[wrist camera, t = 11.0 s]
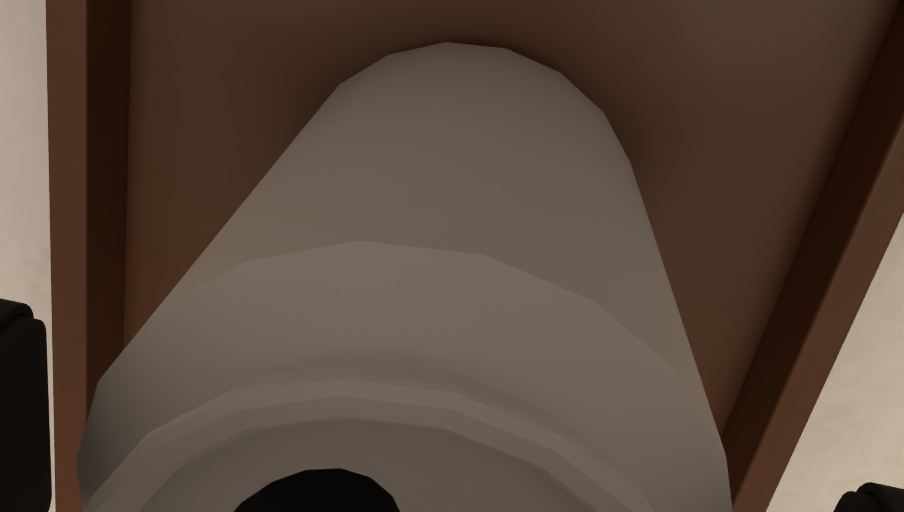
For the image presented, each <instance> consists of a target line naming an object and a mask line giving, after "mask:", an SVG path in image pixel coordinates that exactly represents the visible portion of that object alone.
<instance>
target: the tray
mask: <svg viewBox="0 0 904 512" xmlns="http://www.w3.org/2000/svg"><path fill="white" fill-rule="evenodd" d="M46 39H47V90H48V142H49V193H50V244H51V295H52V347H53V398H54V449H55V500H56V512H83V509H82V501H81V494H80V486H79V479H78V471H77V464H76V459H77V455H78V451H79V448H80V444H81V441H82V437H83V434H84V430H85V427H86V423H87V420H88V416H89V412H90V409H91V405H92V402H93V398H94V395H95V391H96V388H97V384H98V381H99V380H100V379H101V377H102V376H103V375H104V374H105V372H106V371H107V370H108V369H109V367H110V366H111V365H112V364H113V363H114V361H115V360H116V359H117V358H118V356H119V355H120V354H121V353H122V351H123V350H124V349H125V348H126V347H127V345H128V344H129V343H130V342H131V340H132V339H133V338H134V337H135V335H136V334H137V333H138V332H139V330H140V329H141V328H142V327H143V326H144V324H145V323H146V322H147V321H148V319H149V318H150V317H151V316H152V314H153V313H154V312H155V311H156V310H157V308H158V307H159V306H160V305H161V303H162V302H163V301H164V300H165V298H166V297H167V296H168V295H169V293H170V292H171V291H172V290H173V289H174V287H175V286H176V285H177V284H178V282H179V281H180V280H181V279H182V277H183V276H184V275H185V274H186V272H187V271H188V270H189V269H190V268H191V266H192V265H193V264H194V263H195V261H196V260H197V259H198V258H199V256H200V255H201V254H202V253H203V252H204V250H205V249H206V248H207V247H208V245H209V244H210V243H211V242H212V240H213V239H214V238H215V237H216V235H217V234H218V233H219V232H220V231H221V229H222V228H223V227H224V226H225V224H226V223H227V222H228V221H229V219H230V218H231V217H232V216H233V215H234V213H235V212H236V211H237V210H238V208H239V207H240V206H241V205H242V203H243V202H244V201H245V200H246V198H247V197H248V196H249V195H250V194H251V192H252V191H253V190H254V189H255V187H256V186H257V185H258V184H259V182H260V181H261V180H262V179H263V177H264V176H265V175H266V174H267V173H268V171H269V170H270V169H271V168H272V166H273V165H274V164H275V163H276V161H277V160H278V159H279V158H280V157H281V155H282V154H283V153H284V152H285V150H286V149H287V148H288V147H289V145H290V144H291V143H292V142H293V140H294V139H295V138H296V137H297V136H298V134H299V133H300V132H301V131H302V129H303V128H304V127H305V126H306V124H307V123H308V122H309V121H310V120H311V118H312V117H313V116H314V115H315V114H316V112H317V111H318V110H319V109H320V107H321V106H322V105H323V104H324V103H325V101H326V100H327V99H328V98H329V96H330V95H331V94H332V93H333V92H334V90H335V89H336V88H337V87H338V86H339V84H341V83H342V82H344V81H346V80H347V79H349V78H351V77H352V76H354V75H356V74H357V73H359V72H361V71H362V70H364V69H366V68H367V67H369V66H371V65H372V64H374V63H376V62H377V61H379V60H380V59H382V58H384V57H385V56H387V55H390V54H394V53H399V52H403V51H408V50H413V49H417V48H422V47H426V46H431V45H435V44H440V43H444V42H449V43H459V44H468V45H478V46H488V47H497V48H506V49H508V50H511V51H513V52H515V53H517V54H520V55H522V56H524V57H526V58H529V59H531V60H533V61H535V62H538V63H540V64H542V65H544V66H546V67H549V68H551V69H553V70H555V71H558V72H560V73H561V74H562V75H564V76H565V77H566V78H567V79H568V80H569V81H570V82H571V83H572V84H573V85H574V86H575V87H577V88H578V89H579V90H580V91H581V92H582V93H583V94H584V95H585V96H586V97H587V98H589V99H590V100H591V101H592V102H593V103H594V104H595V105H596V106H597V107H598V108H599V109H601V110H602V111H603V112H604V114H605V116H606V118H607V120H608V122H609V123H610V125H611V127H612V129H613V131H614V133H615V135H616V136H617V138H618V140H619V142H620V144H621V146H622V148H623V149H624V151H625V153H626V155H627V157H628V159H629V161H630V163H631V166H632V169H633V172H634V176H635V179H636V182H637V185H638V188H639V191H640V194H641V197H642V200H643V203H644V206H645V209H646V212H647V215H648V219H649V222H650V225H651V228H652V231H653V234H654V237H655V240H656V243H657V246H658V249H659V252H660V255H661V258H662V261H663V265H664V268H665V271H666V274H667V277H668V280H669V283H670V286H671V289H672V292H673V295H674V298H675V301H676V304H677V308H678V311H679V314H680V317H681V320H682V323H683V326H684V329H685V332H686V335H687V338H688V341H689V344H690V347H691V351H692V354H693V357H694V360H695V363H696V366H697V369H698V372H699V375H700V378H701V381H702V384H703V387H704V390H705V393H706V397H707V400H708V403H709V406H710V409H711V412H712V415H713V418H714V421H715V424H716V427H717V430H718V433H719V436H720V440H721V443H722V446H723V449H724V452H725V455H726V460H727V469H728V477H729V485H730V493H731V501H732V509H733V512H766V510H767V508H768V506H769V503H770V501H771V499H772V497H773V495H774V493H775V490H776V488H777V486H778V484H779V482H780V480H781V477H782V475H783V473H784V471H785V469H786V467H787V464H788V462H789V460H790V458H791V456H792V454H793V451H794V449H795V447H796V445H797V443H798V440H799V438H800V436H801V434H802V432H803V430H804V427H805V425H806V423H807V421H808V419H809V417H810V414H811V412H812V410H813V408H814V406H815V404H816V401H817V399H818V397H819V395H820V393H821V391H822V388H823V386H824V384H825V382H826V380H827V378H828V375H829V373H830V371H831V369H832V367H833V365H834V362H835V360H836V358H837V356H838V354H839V351H840V349H841V347H842V345H843V343H844V341H845V338H846V336H847V334H848V332H849V330H850V328H851V325H852V323H853V321H854V319H855V317H856V315H857V312H858V310H859V308H860V306H861V304H862V302H863V299H864V297H865V295H866V293H867V291H868V289H869V286H870V284H871V282H872V280H873V278H874V276H875V273H876V271H877V269H878V267H879V265H880V262H881V260H882V258H883V256H884V254H885V252H886V249H887V247H888V245H889V243H890V241H891V239H892V236H893V234H894V232H895V230H896V228H897V226H898V223H899V221H900V219H901V217H902V215H903V213H904V0H46Z"/></svg>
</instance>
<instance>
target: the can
mask: <svg viewBox="0 0 904 512" xmlns="http://www.w3.org/2000/svg"><path fill="white" fill-rule="evenodd" d="M76 464H77V471H78V479H79V486H80V494H81V501H82V509H83V512H733V509H732V501H731V493H730V485H729V477H728V469H727V460H726V455H725V452H724V449H723V446H722V443H721V440H720V436H719V433H718V430H717V427H716V424H715V421H714V418H713V415H712V412H711V409H710V406H709V403H708V400H707V397H706V393H705V390H704V387H703V384H702V381H701V378H700V375H699V372H698V369H697V366H696V363H695V360H694V357H693V354H692V351H691V347H690V344H689V341H688V338H687V335H686V332H685V329H684V326H683V323H682V320H681V317H680V314H679V311H678V308H677V304H676V301H675V298H674V295H673V292H672V289H671V286H670V283H669V280H668V277H667V274H666V271H665V268H664V265H663V261H662V258H661V255H660V252H659V249H658V246H657V243H656V240H655V237H654V234H653V231H652V228H651V225H650V222H649V219H648V215H647V212H646V209H645V206H644V203H643V200H642V197H641V194H640V191H639V188H638V185H637V182H636V179H635V176H634V172H633V169H632V166H631V163H630V161H629V159H628V157H627V155H626V153H625V151H624V149H623V148H622V146H621V144H620V142H619V140H618V138H617V136H616V135H615V133H614V131H613V129H612V127H611V125H610V123H609V122H608V120H607V118H606V116H605V114H604V112H603V111H602V110H601V109H599V108H598V107H597V106H596V105H595V104H594V103H593V102H592V101H591V100H590V99H589V98H587V97H586V96H585V95H584V94H583V93H582V92H581V91H580V90H579V89H578V88H577V87H575V86H574V85H573V84H572V83H571V82H570V81H569V80H568V79H567V78H566V77H565V76H564V75H562V74H561V73H560V72H558V71H555V70H553V69H551V68H549V67H546V66H544V65H542V64H540V63H538V62H535V61H533V60H531V59H529V58H526V57H524V56H522V55H520V54H517V53H515V52H513V51H511V50H508V49H506V48H497V47H488V46H478V45H468V44H459V43H449V42H444V43H440V44H435V45H431V46H426V47H422V48H417V49H413V50H408V51H403V52H399V53H394V54H390V55H387V56H385V57H384V58H382V59H380V60H379V61H377V62H376V63H374V64H372V65H371V66H369V67H367V68H366V69H364V70H362V71H361V72H359V73H357V74H356V75H354V76H352V77H351V78H349V79H347V80H346V81H344V82H342V83H341V84H339V86H338V87H337V88H336V89H335V90H334V92H333V93H332V94H331V95H330V96H329V98H328V99H327V100H326V101H325V103H324V104H323V105H322V106H321V107H320V109H319V110H318V111H317V112H316V114H315V115H314V116H313V117H312V118H311V120H310V121H309V122H308V123H307V124H306V126H305V127H304V128H303V129H302V131H301V132H300V133H299V134H298V136H297V137H296V138H295V139H294V140H293V142H292V143H291V144H290V145H289V147H288V148H287V149H286V150H285V152H284V153H283V154H282V155H281V157H280V158H279V159H278V160H277V161H276V163H275V164H274V165H273V166H272V168H271V169H270V170H269V171H268V173H267V174H266V175H265V176H264V177H263V179H262V180H261V181H260V182H259V184H258V185H257V186H256V187H255V189H254V190H253V191H252V192H251V194H250V195H249V196H248V197H247V198H246V200H245V201H244V202H243V203H242V205H241V206H240V207H239V208H238V210H237V211H236V212H235V213H234V215H233V216H232V217H231V218H230V219H229V221H228V222H227V223H226V224H225V226H224V227H223V228H222V229H221V231H220V232H219V233H218V234H217V235H216V237H215V238H214V239H213V240H212V242H211V243H210V244H209V245H208V247H207V248H206V249H205V250H204V252H203V253H202V254H201V255H200V256H199V258H198V259H197V260H196V261H195V263H194V264H193V265H192V266H191V268H190V269H189V270H188V271H187V272H186V274H185V275H184V276H183V277H182V279H181V280H180V281H179V282H178V284H177V285H176V286H175V287H174V289H173V290H172V291H171V292H170V293H169V295H168V296H167V297H166V298H165V300H164V301H163V302H162V303H161V305H160V306H159V307H158V308H157V310H156V311H155V312H154V313H153V314H152V316H151V317H150V318H149V319H148V321H147V322H146V323H145V324H144V326H143V327H142V328H141V329H140V330H139V332H138V333H137V334H136V335H135V337H134V338H133V339H132V340H131V342H130V343H129V344H128V345H127V347H126V348H125V349H124V350H123V351H122V353H121V354H120V355H119V356H118V358H117V359H116V360H115V361H114V363H113V364H112V365H111V366H110V367H109V369H108V370H107V371H106V372H105V374H104V375H103V376H102V377H101V379H100V380H99V381H98V384H97V388H96V391H95V395H94V398H93V402H92V405H91V409H90V412H89V416H88V420H87V423H86V427H85V430H84V434H83V437H82V441H81V444H80V448H79V451H78V455H77V459H76Z"/></svg>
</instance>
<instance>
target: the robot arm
mask: <svg viewBox="0 0 904 512" xmlns="http://www.w3.org/2000/svg"><path fill="white" fill-rule="evenodd" d="M51 497H52V486H51V457H50V428H49V399H48V370H47V341H46V328H45V325H44V323H43V322H42V321H41V320H38V319H34V316H33V312H32V310H31V308H30V306H28V305H26V304H24V303H19V302H14V301H10V300H5V299H0V512H48V511H49V508H50V503H51ZM833 512H904V489H900V488H896V487H891V486H886V485H881V484H877V483H872V482H870V483H865V484H863V485H862V486H860V487H859V488H858V490H857V491H856V492H853V491H849V492H846V493H845V494H843V496H842V497H841V499H840V500H839V502H838V504H837V506H836V508H835V510H834V511H833Z"/></svg>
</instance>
